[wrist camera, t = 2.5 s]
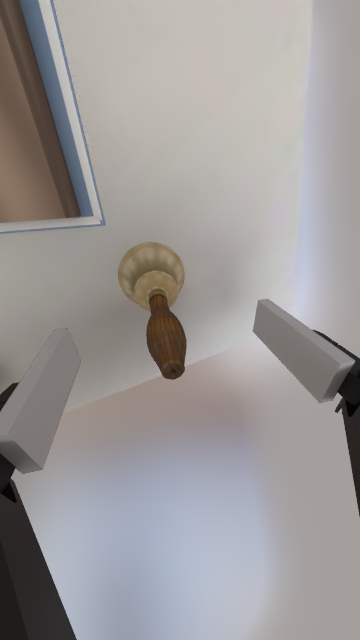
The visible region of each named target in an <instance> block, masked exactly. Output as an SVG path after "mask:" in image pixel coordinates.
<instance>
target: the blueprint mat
mask: <svg viewBox="0 0 360 640" xmlns="http://www.w3.org/2000/svg"><path fill="white" fill-rule="evenodd" d="M19 1H20V4H21V8H22V11H23V15H24V18H25V22H26V25H27V29H28V32H29V36H30V39H31V43H32V46H33V49H34V53H35V56H36V60H37V63H38V67H39V70H40V74H41V77H42V81H43V84H44V88H45V91H46V95H47V98H48V102H49V105H50V109H51V112H52V115H53V119H54V122H55V126H56V129H57V133H58V136H59V140H60V143H61V147H62V150H63V154H64V157H65V161H66V164H67V168H68V171H69V175H70V178H71V181H72V185H73V188H74V192H75V195H76V199H77V202H78V206H79V209H80V213H81V216H76V217H70V218H64V219H50V220H36V221H22V222H8V223H0V233H13V232H25V231H38V230H51V229H63V228H76V227H89V226H101V225H105V221H104V217H103V213H102V208H101V204H100V200H99V196H98V191H97V187H96V183H95V179H94V174H93V170H92V166H91V162H90V157H89V153H88V149H87V144H86V140H85V136H84V132H83V127H82V123H81V119H80V115H79V110H78V106H77V102H76V98H75V93H74V89H73V85H72V81H71V76H70V72H69V68H68V64H67V59H66V55H65V51H64V47H63V42H62V38H61V34H60V30H59V25H58V21H57V17H56V13H55V8H54V4H53V0H19Z"/></svg>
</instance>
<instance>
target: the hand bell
mask: <svg viewBox="0 0 360 640" xmlns="http://www.w3.org/2000/svg"><path fill="white" fill-rule="evenodd" d="M118 278H119V283H120V286H121V288H122V290H123V292H124V293H125V294H126V296H127V297H128V298H130V299H131V300H132V301H134V302H135V303H137V304H139V305H140V306H141V307H143V308H144V309H146V310H149V311H151V317H150V319H149V321H148V325H147V335H146V336H147V345H148V349H149V352H150V354H151V356H152V357H153V359H154V361H155V362H156V364H157V365H158V367H159V369H160V371H161V373H162V375H163V376H164V377H165V378H166V379H176V378H178V377H180V376H181V375H182V374H183V373H184V370H185V367H184V361H185V354H186V337H185V333H184V330H183V327H182V325H181V323H180V322H179V320H178V319H177V317H176V316H175V315H174V314H173V313H172V312H170V310H169V307H170V306H171V305H172V304H173V303H174V302H175V300H176V297H177V295H178V293H179V292H180V290H181V288H182V286H183V283H184V267H183V264H182V261H181V260H180V258H179V256H178V255H177V254H176V253H175V252H174V251H173V250H172V249H170V248H169V247H167V246H165V245H163V244H160V243H153V242H148V243H143V244H139V245H137V246H135V247H133V248H132V249H130V250H129V251H128V252H127V253H126V254H125V256H124V257H123V259H122V260H121V263H120V266H119V270H118Z"/></svg>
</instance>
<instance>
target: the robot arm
mask: <svg viewBox="0 0 360 640" xmlns="http://www.w3.org/2000/svg"><path fill="white" fill-rule="evenodd" d="M253 332H254V333H255V334H256V335H257V336H258V337H259V339H260V340H261V341H262V342H263V343H264V344H265V345H266V346H267V347H268V348H269V349H270V350H271V351H272V352H273V354H275V356H276V357H277V358H278V359H279V360H280V361H281V362H282V363H283V364H284V365H285V366H286V368H287V369H288V370H289V371H290V372H291V373H292V374H293V375H294V376H295V377H296V378H297V379H298V380H299V382H300V383H301V384H302V385H303V386H304V387H305V388H306V389H307V390H308V391H309V392H310V393H311V394H312V396H314V398H315V399H316V400H317V401H318V402H319V403H323V402H327V401H332V400H333V399H334V397H335V396H336V394H337V392H338V393H339V394H340V395H341V396H342V397H343V398H342V399H341V401H340V403H339V404H338V406H337V407H336V410H335V412H337V413H338V411H339V410H340V409H341V408H342V414H343V419H344V425H345V431H346V437H347V443H348V449H349V455H350V461H351V467H352V473H353V479H354V485H355V491H356V497H357V503H358V509H359V515H360V358H358V357H357V356H355V355H354V354H352V353H351V352H349V351H348V350H346V349H345V348H343V347H342V346H340V345H338V343H336V342H334V341H332V339H330V338H328V337H327V336H326V335H324V334H323V333H320V332H318V331H315V330H311V329H310V328H308V327H307V326H306V325H304V324H303V323H301V322H300V321H298V320H297V319H296V318H294V317H293V316H291V315H290V314H289V313H287V312H286V311H284V310H283V309H281V308H280V307H279V306H277V305H276V304H274V303H273V302H272V301H270V300H269V299H263V300H258V304H257V310H256V316H255V321H254V327H253ZM80 362H81V359H80V356H79V354H78V352H77V350H76V347H75V345H74V343H73V341H72V338H71V336H70V334H69V332H68V329H67V328H65V329H58V330H54V331H53V332H52V334H51V335H50V337H49V338H48V340H47V342H46V343H45V345H44V346H43V348H42V349H41V351H40V352H39V354H38V355H37V357H36V358H35V360H34V361H33V363H32V364H31V366H30V367H29V369H28V370H27V372H26V373H25V375H24V376H23V378H22V379H21V381H20V382H19V383H13V384H12V385H10V386H9V387H8V388H7V389H6V390H5V391H4V392H2V394H1V395H0V640H77V639H76V637H75V634H74V632H73V629H72V627H71V624H70V622H69V619H68V617H67V614H66V612H65V609H64V607H63V604H62V602H61V599H60V597H59V594H58V591H57V589H56V586H55V584H54V581H53V579H52V576H51V574H50V571H49V569H48V566H47V564H46V561H45V559H44V556H43V553H42V551H41V548H40V546H39V543H38V541H37V538H36V536H35V533H34V531H33V528H32V526H31V523H30V521H29V518H28V516H27V513H26V511H25V508H24V505H23V503H22V500H21V498H20V495H19V493H18V491H17V488H16V485H15V483H14V481H13V480H12V479H11V476H12V474H13V472H14V470H15V468H16V469H17V470H18V471H20V472H21V473H22V474H25V473H29V472H34V471H38V470H41V469H43V467H44V464H45V461H46V459H47V455H48V453H49V450H50V447H51V444H52V442H53V439H54V436H55V433H56V430H57V427H58V425H59V422H60V419H61V416H62V413H63V410H64V408H65V405H66V402H67V399H68V396H69V394H70V391H71V388H72V385H73V382H74V379H75V377H76V374H77V371H78V368H79V365H80Z"/></svg>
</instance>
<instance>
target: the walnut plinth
mask: <svg viewBox="0 0 360 640" xmlns="http://www.w3.org/2000/svg"><path fill="white" fill-rule="evenodd" d="M76 216H81V213H80V209H79V206H78V202H77V199H76V195H75V192H74V188H73V185H72V181H71V178H70V175H69V171H68V168H67V164H66V161H65V157H64V154H63V150H62V147H61V143H60V140H59V136H58V133H57V129H56V126H55V122H54V119H53V115H52V112H51V109H50V105H49V102H48V98H47V95H46V91H45V88H44V84H43V81H42V77H41V74H40V70H39V67H38V63H37V60H36V56H35V53H34V49H33V46H32V43H31V39H30V36H29V32H28V29H27V25H26V22H25V18H24V15H23V11H22V8H21V4H20V1H19V0H0V223H8V222H22V221H36V220H50V219H64V218H70V217H76Z"/></svg>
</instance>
